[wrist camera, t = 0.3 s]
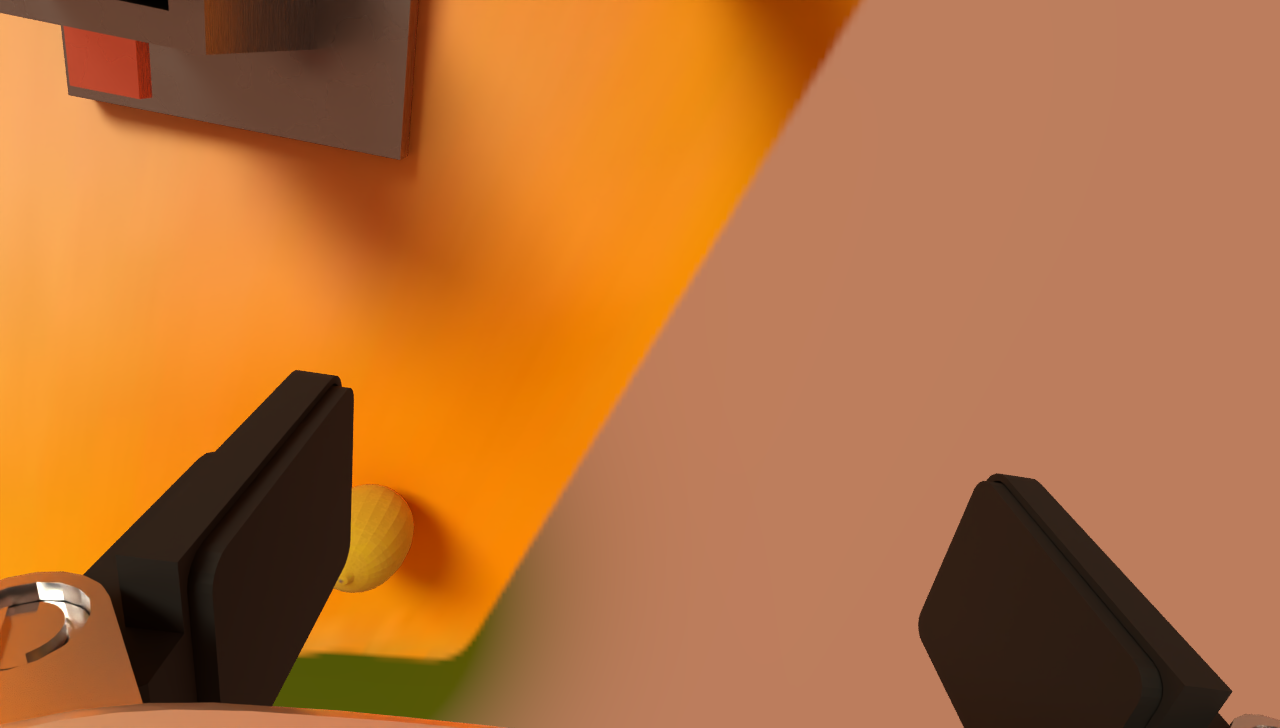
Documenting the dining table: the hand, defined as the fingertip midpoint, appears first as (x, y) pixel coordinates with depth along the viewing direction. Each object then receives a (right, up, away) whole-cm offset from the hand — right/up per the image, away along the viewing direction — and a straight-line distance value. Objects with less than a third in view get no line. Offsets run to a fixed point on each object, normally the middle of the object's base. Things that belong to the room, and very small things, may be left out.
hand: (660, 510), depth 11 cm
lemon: (-17, -6, +37) cm, 41 cm away
